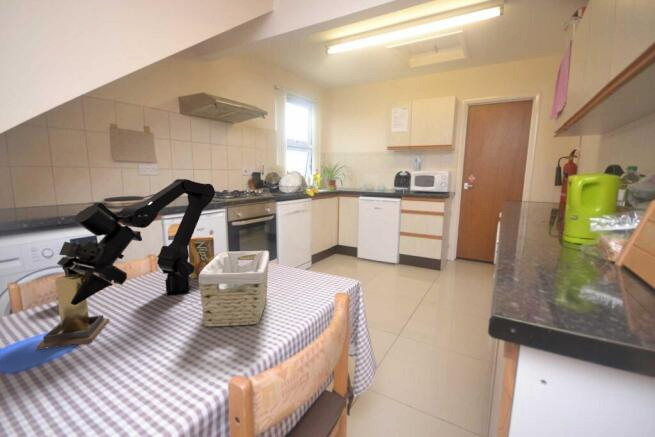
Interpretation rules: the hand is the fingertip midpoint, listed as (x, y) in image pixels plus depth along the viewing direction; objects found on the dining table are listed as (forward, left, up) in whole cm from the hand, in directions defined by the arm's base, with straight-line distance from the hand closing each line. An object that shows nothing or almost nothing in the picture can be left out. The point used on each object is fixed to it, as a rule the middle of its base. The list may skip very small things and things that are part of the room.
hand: (65, 302), depth 66 cm
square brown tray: (-1, -1, -9) cm, 9 cm away
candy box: (-26, -37, -9) cm, 46 cm away
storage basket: (-39, -4, -9) cm, 40 cm away
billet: (-1, -1, -7) cm, 7 cm away
